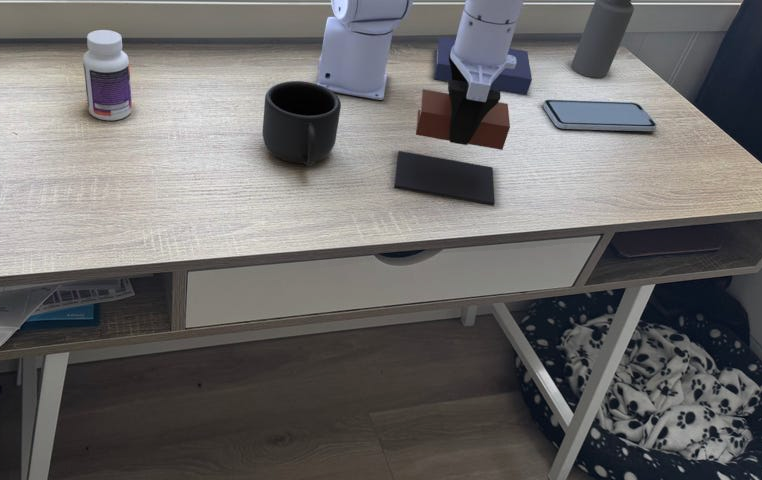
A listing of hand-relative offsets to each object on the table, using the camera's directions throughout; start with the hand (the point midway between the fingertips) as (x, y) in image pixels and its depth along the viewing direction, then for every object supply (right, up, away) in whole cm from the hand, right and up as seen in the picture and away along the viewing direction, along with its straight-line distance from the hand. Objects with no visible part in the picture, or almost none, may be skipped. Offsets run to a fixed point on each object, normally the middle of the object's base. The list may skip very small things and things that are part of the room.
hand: (458, 129), depth 86 cm
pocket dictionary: (0, 0, 0) cm, 0 cm away
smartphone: (+24, +6, +21) cm, 33 cm away
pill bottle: (-43, +4, +8) cm, 44 cm away
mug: (-19, -2, +5) cm, 19 cm away
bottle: (+28, +17, +33) cm, 47 cm away
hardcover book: (+9, +16, +28) cm, 33 cm away
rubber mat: (-1, -5, +5) cm, 7 cm away
